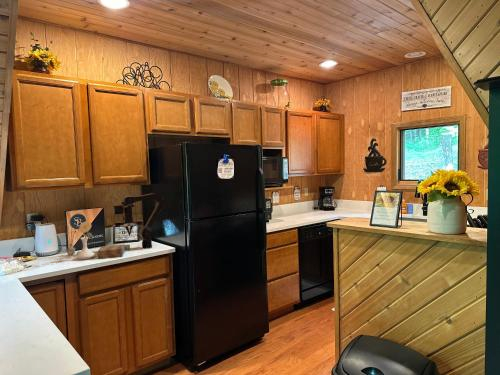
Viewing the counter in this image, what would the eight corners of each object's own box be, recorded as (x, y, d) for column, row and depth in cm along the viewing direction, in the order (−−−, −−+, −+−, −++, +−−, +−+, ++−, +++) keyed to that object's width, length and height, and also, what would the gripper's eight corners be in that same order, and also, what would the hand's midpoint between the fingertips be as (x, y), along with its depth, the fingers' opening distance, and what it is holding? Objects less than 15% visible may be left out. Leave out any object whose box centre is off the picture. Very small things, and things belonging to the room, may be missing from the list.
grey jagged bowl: (124, 251, 243) (124, 243, 242) (122, 256, 229) (122, 248, 229) (104, 253, 239) (103, 245, 239) (100, 258, 226) (100, 249, 226)
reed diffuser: (63, 256, 235) (61, 227, 233) (65, 254, 241) (64, 225, 240) (79, 255, 237) (78, 226, 236) (81, 252, 244) (80, 224, 243)
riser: (130, 249, 251) (130, 244, 251) (129, 250, 247) (129, 245, 247) (124, 249, 250) (124, 244, 250) (123, 250, 246) (123, 246, 246)
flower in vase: (72, 259, 226) (70, 221, 224) (87, 255, 236) (85, 219, 234) (85, 261, 219) (83, 222, 218) (100, 257, 229) (98, 220, 228)
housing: (123, 252, 242) (122, 244, 242) (120, 256, 229) (120, 249, 229) (102, 253, 239) (101, 246, 239) (98, 258, 226) (97, 250, 225)
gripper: (142, 211, 257) (143, 232, 258) (115, 213, 251) (116, 234, 252) (142, 213, 246) (143, 234, 247) (114, 215, 241) (115, 237, 242)
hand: (129, 235), depth 247 cm, fingers closed
